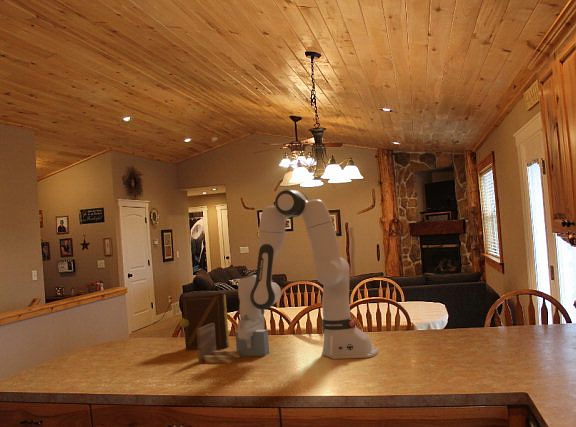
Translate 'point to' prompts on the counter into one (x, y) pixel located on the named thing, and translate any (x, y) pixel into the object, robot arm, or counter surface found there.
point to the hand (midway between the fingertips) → (252, 345)
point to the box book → (254, 344)
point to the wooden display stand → (212, 347)
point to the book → (205, 317)
